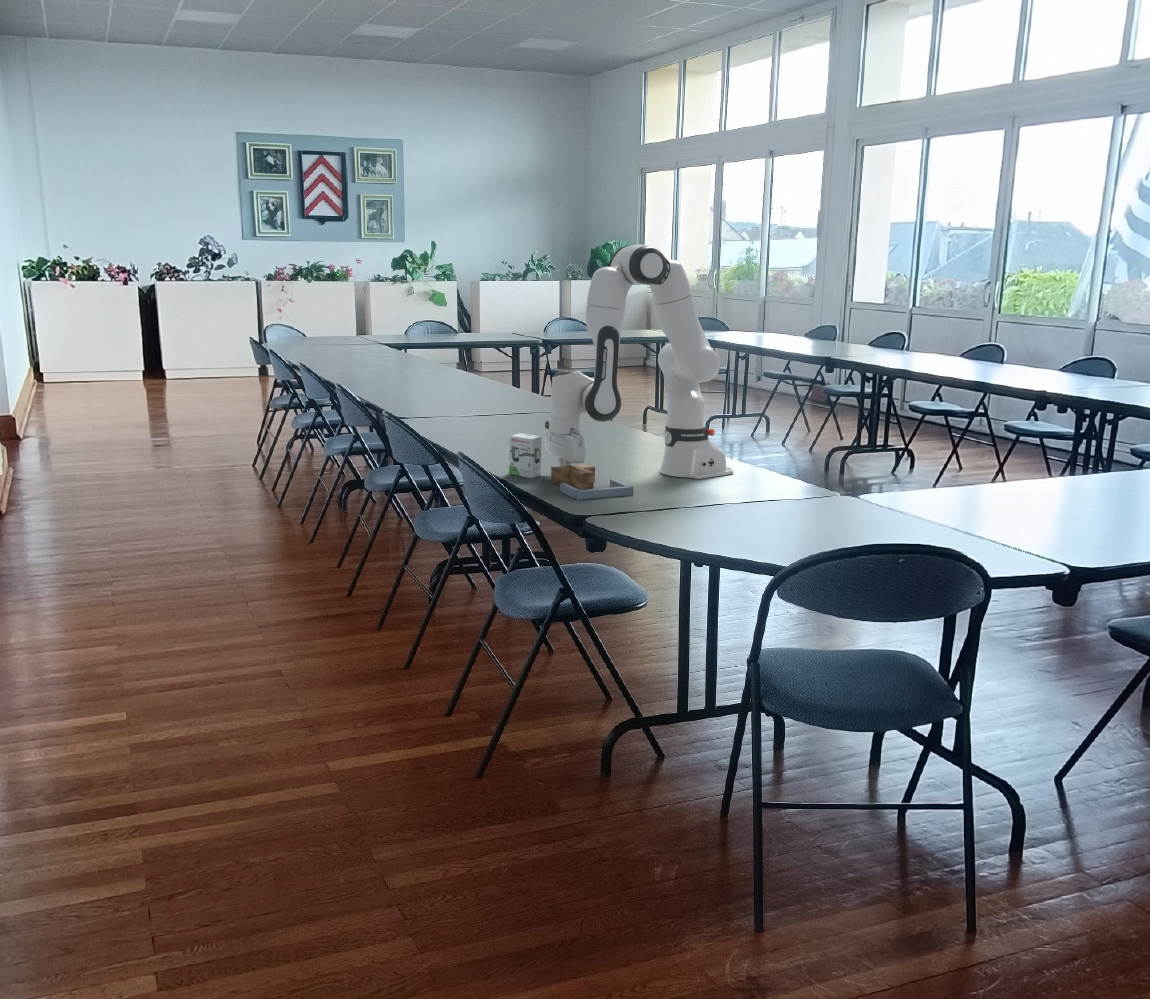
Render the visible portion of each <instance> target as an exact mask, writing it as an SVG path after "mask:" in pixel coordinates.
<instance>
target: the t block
mask: <svg viewBox="0 0 1150 999" xmlns="http://www.w3.org/2000/svg"><path fill="white" fill-rule="evenodd" d="M550 471H551V472H550V483H551V484H553V485H556V486H560V483H566V484H568V485H570V486H572V487H575V488H577V489H579V490H589V489H594V483H595V482H596V481H595V480H596V467H595V466H594V465H592V464H590V463H589V464H575V465H573V464H571V466H560V465H559V466H551V467H550Z"/></svg>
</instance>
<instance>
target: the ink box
mask: <svg viewBox="0 0 1150 999" xmlns="http://www.w3.org/2000/svg"><path fill="white" fill-rule="evenodd" d="M542 438H543V437H542V436H540V435H534V434H528V433H521V432H520V433H516V434H512V435H510V436H509V464H508V465H509V466H508V467H509V468H508V470H509V471H508V474H509V475H512V476H516V477H517V476H518V477H524V478H528V479H533V478H537V477H540V476H541V475H542V474H541V473H542V472H541V471H542Z"/></svg>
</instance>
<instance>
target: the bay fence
mask: <svg viewBox="0 0 1150 999" xmlns="http://www.w3.org/2000/svg"><path fill="white" fill-rule="evenodd" d="M634 488H635V487H634V486H633V485H630V484H627V483H625V482H623V481H621V480H618V479H616V478H610V480H609V487H602V488H601V487H600V488H589V489H579V488H577V487H575V486H572V485H570V484H566V483H560V485H559V492H561V493H563V494H565V495H566V496H569V497H571V498H573V499H574V500H577V501H580V500H581V501H582V500H591V499H602V498H613V497H615V498H616V497H623V496H634V490H635V489H634Z"/></svg>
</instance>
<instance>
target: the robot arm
mask: <svg viewBox="0 0 1150 999" xmlns="http://www.w3.org/2000/svg"><path fill="white" fill-rule="evenodd" d="M634 285H636V286H637V285H638V286H639V285H644V286H646V285H647V286H648V287H649V288H650V290H651V292H652V296H653V301H654V306H655V311H656V313H657V314H656V315H657V318H658V321H659V326H660V329H661V331H662V333H663V334H664V335H665V336H666V339H668V342H669V343H667V344H665V345H664V346H662V347H661V349H660V350H659V353H658V356H657V362H658V363H657V364H658V366H659V368H660V370H661V372H662V374H663V381H664V386H665V391H666V397H667V398H666V399H667V413H666V414H667V416H666V426H664V427H665V428H664V429H665V430H664V444H665V445H664V446H665V447H664V452H663V458H662V462H661V465H660V468H659V473H660V474H663V475H664V476H670V477H677V478H688V479H689V478H690V479H699V480H700V479H709V478H712V477H713V478H714V477H722V476H728V475H733V474H734V470H733V468H732V467H729V466H727V458H726V455H725V452H724V451H723V450H722V449H720V448H719V447H718V446H717V445H716V444H715V443H714V442H712V441H711V440H710V439H709V436H710V437H711V436H712V437H713V436H715V435H716V430H715V429H713V428H707V427H706V426H705V413H706V412H705V411H706V401H705V398H704V396H703V394H702V392H701V388H700V384H699V383H706V382H709V381H712V380H713V379H715V378H716V376H717V375H718V374H719V371H720V368H721V359H720V356H719V355H718V353H717V352H716V351H715V350H714V349H713V348H712V346H711V344H710V342H709V341H708V338H707V336H706V334H705V332H704V330H703V328H702V325H701V322H700V321H699V317H698V313H697V309H696V305H695V301H694V296H693V293H692V288H691V285H690V282H689V278H688V276H687V273H686V271H685V269H684V267H683V265H682V263H681V262H680V261H678V260H676V259H670V258H669V259H667V258H666V257H665V255H664V253H662V251H661V250H659V249H658V248H656V247H655V246H652V245H645V244H632V245H629V244H627V245H623V246H621V247H620V248H618V249H617V250H615V251H614V253H613V255H612V256H611V258H610V260H609V262H608V263H607V265H606V266H603V267H600V268H598V269H596V270H595V271H594V273H593V275H592V277H591V281H590V284H589V288H588V292H587V298H586V300H587V301H586V309H585V322H586V330H587V333H588V334H589V336H590V338H591V339H592V342H593V346H594V350H595V360H594V362H595V363H594V375H593V378H592V377H589V376H587V375H586V374H584V373H583V372H582V371H580V370H579V369H575V368H574V369H573V368H572V369H564V370H560V371H557V372H556V373H555V374H554V375H553V377H552V380H551V386H550V387H551V390H550V404H551V410H550V411H551V412H550V418H549V419H547V420H545V421H544V423H543V427H544V429H545V433H544V437H545V440H544V443H545V450H546V452H547V453H549V454H551V455H553V456H556V457H557V460H558V465H559V466H572V465H573V464H583V463H585V462H586V440H585V438H584V436H583V435H582V434H581V432H582V414H583V413H587V414H588V416H589V417H590V418H591V419H593V420H594V421H597V422H608V421H611V420H613V419H615V417H616V416H617V415H618V414H619V413H620V410H621V407H622V398H621V395H620V392H619V389H618V382H617V381H618V368H619V367H618V366H619V352H620V351H619V350H620V343H621V337H622V332H623V326H624V320H625V315H626V304H627V302H626V301H627V296H628V293H629V291H630V289H631V288H632V286H634Z"/></svg>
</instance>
